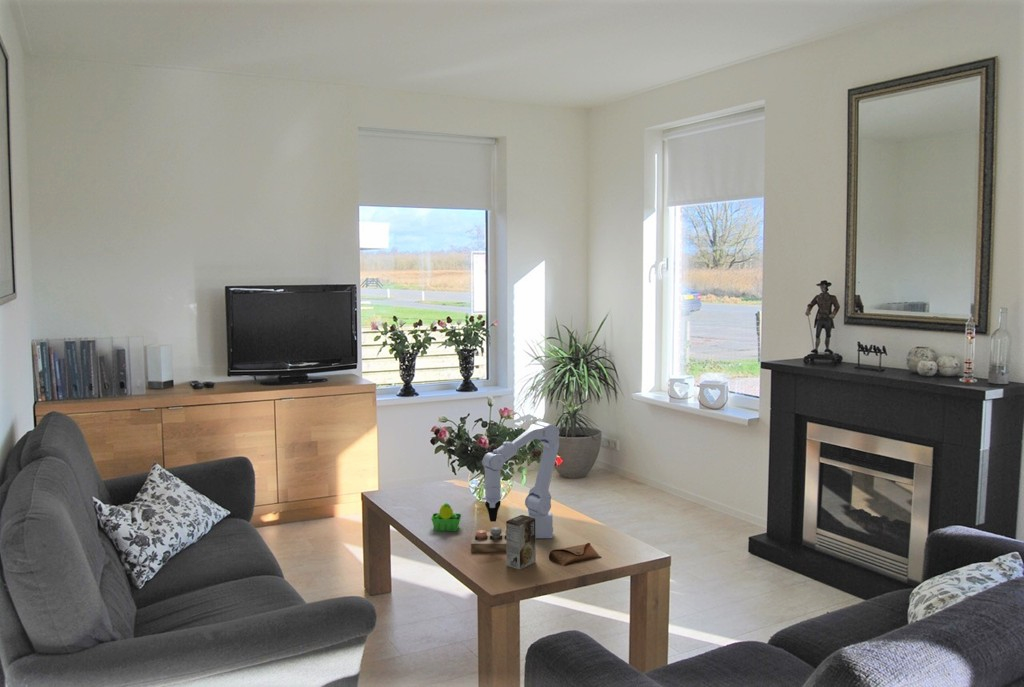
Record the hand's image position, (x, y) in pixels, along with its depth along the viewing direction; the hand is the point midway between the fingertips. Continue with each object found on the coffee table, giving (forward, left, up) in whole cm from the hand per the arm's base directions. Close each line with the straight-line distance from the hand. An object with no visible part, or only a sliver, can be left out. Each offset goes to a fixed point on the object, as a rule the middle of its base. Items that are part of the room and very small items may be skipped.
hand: (493, 521), depth 301 cm
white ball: (-7, 0, -7) cm, 9 cm away
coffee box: (-10, +19, -10) cm, 24 cm away
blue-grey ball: (-1, 0, -7) cm, 7 cm away
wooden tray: (-1, 0, -9) cm, 9 cm away
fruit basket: (+19, -19, -10) cm, 28 cm away
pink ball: (+4, 0, -8) cm, 9 cm away
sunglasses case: (-30, +14, -10) cm, 34 cm away
